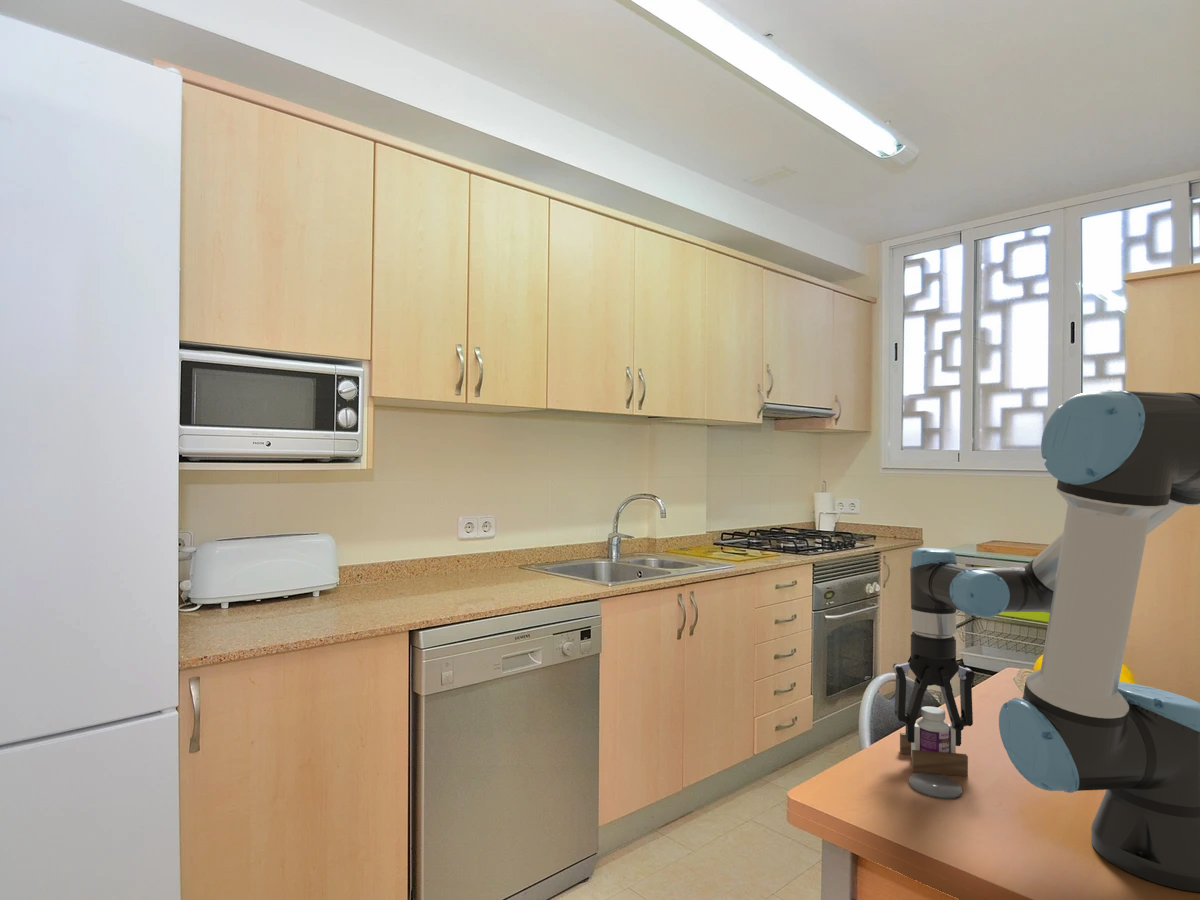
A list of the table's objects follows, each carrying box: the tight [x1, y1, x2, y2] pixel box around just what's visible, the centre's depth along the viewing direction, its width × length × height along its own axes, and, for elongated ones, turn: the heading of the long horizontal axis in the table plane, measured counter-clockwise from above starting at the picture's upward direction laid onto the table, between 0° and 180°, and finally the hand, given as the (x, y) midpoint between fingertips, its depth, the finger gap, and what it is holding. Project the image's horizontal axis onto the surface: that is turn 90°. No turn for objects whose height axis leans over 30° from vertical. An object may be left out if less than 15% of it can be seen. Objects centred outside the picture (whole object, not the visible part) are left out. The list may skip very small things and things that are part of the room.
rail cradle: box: [899, 732, 969, 777], centre depth 125 cm, size 9×9×4 cm
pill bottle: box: [916, 706, 950, 753], centre depth 125 cm, size 5×5×10 cm
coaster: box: [908, 772, 963, 800], centre depth 116 cm, size 8×8×1 cm
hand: (933, 761), depth 125 cm, fingers closed on pill bottle, 5 cm apart
